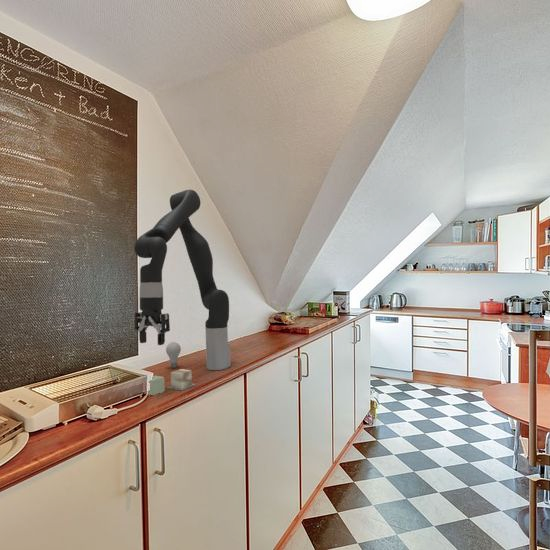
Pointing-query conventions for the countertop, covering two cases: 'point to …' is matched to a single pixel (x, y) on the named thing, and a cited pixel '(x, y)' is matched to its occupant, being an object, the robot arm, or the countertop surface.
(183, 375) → the birch block
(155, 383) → the sage block
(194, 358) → the countertop surface
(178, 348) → the lightbulb
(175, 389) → the build tile
